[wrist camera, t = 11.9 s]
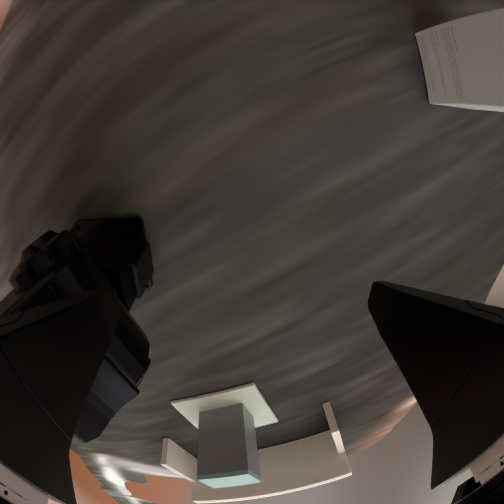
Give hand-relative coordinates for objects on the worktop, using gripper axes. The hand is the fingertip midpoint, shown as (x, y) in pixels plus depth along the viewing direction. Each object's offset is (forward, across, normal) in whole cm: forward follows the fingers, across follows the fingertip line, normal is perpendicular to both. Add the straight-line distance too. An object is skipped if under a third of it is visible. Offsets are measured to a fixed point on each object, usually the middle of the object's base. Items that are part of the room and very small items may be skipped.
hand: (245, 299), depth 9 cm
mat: (+13, -2, -27) cm, 30 cm away
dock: (+13, +2, -37) cm, 39 cm away
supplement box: (+14, +19, +14) cm, 27 cm away
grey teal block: (+12, -2, -27) cm, 30 cm away
